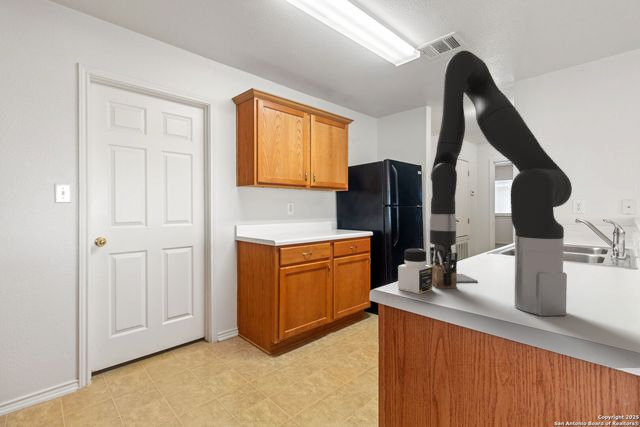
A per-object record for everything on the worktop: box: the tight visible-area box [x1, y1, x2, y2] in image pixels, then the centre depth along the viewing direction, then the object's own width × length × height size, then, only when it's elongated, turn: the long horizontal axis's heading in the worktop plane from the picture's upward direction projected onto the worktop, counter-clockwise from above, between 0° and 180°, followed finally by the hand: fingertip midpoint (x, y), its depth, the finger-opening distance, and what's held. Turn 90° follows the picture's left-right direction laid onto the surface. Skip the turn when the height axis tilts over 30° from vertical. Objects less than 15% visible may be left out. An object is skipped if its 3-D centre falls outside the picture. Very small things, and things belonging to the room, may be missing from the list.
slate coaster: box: [457, 273, 479, 284], centre depth 101 cm, size 10×10×1 cm
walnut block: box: [429, 264, 458, 289], centre depth 92 cm, size 6×6×6 cm
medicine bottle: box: [397, 248, 433, 295], centre depth 88 cm, size 7×7×12 cm
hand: (442, 282), depth 92 cm, fingers closed on walnut block, 6 cm apart
